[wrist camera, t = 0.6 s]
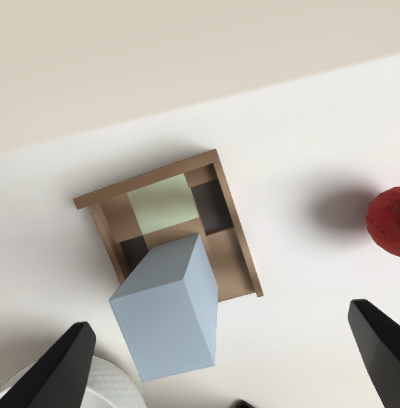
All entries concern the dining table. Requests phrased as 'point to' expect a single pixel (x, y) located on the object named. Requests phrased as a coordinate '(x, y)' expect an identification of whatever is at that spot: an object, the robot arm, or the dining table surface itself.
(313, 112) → the dining table surface
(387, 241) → the onion
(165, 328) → the blue block
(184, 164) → the box
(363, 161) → the dining table surface
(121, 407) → the cereal bowl
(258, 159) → the dining table surface
